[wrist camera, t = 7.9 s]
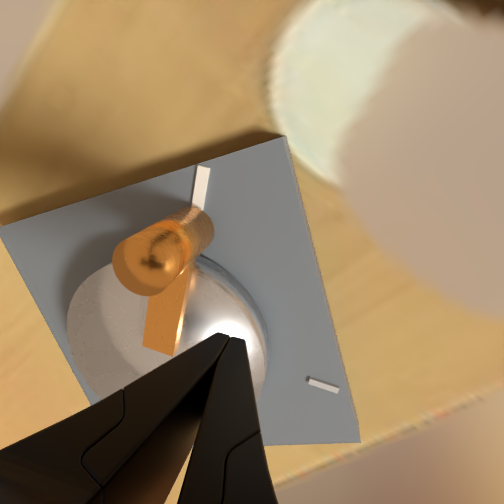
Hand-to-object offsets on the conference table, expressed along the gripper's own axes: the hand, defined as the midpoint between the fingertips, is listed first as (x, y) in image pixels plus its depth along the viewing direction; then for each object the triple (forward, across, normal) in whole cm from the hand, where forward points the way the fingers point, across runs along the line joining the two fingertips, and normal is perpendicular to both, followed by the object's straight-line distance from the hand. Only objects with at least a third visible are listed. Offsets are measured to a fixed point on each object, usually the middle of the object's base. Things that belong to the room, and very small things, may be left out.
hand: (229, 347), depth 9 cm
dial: (+8, +5, +6) cm, 11 cm away
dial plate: (+10, +5, +7) cm, 13 cm away
